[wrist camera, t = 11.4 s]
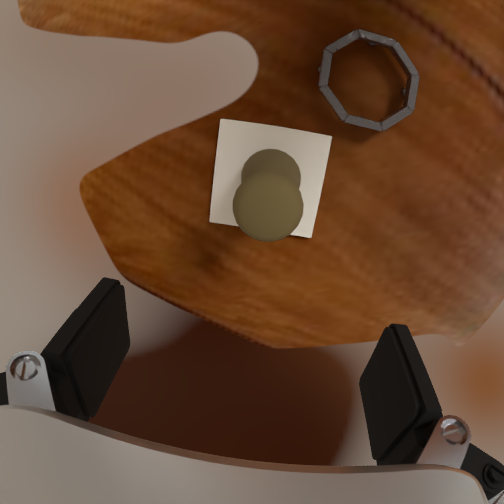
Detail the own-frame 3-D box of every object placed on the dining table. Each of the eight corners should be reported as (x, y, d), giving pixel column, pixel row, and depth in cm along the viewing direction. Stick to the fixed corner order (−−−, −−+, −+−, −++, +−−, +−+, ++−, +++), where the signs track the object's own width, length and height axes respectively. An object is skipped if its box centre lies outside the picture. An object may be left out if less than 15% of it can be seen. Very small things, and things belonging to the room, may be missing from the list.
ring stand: (324, 25, 25) (327, 20, 23) (415, 51, 25) (423, 49, 23) (310, 115, 29) (312, 116, 27) (401, 137, 29) (409, 140, 27)
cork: (245, 209, 34) (230, 257, 24) (236, 152, 31) (216, 176, 21) (303, 203, 33) (313, 250, 23) (298, 145, 30) (307, 166, 20)
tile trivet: (221, 118, 30) (220, 118, 30) (331, 135, 30) (332, 136, 30) (210, 220, 35) (209, 221, 35) (310, 235, 35) (310, 238, 34)
